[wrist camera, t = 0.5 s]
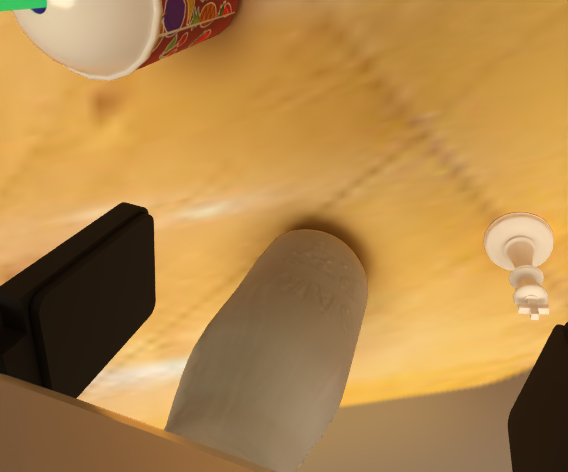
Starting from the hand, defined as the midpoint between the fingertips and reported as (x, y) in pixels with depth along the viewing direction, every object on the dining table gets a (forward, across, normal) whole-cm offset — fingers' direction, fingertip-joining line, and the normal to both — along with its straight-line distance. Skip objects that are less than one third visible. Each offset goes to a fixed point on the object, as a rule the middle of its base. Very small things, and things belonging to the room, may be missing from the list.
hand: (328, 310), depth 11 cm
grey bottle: (+28, +4, +17) cm, 33 cm away
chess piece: (+28, -11, +10) cm, 32 cm away
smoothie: (+28, +17, -4) cm, 33 cm away
